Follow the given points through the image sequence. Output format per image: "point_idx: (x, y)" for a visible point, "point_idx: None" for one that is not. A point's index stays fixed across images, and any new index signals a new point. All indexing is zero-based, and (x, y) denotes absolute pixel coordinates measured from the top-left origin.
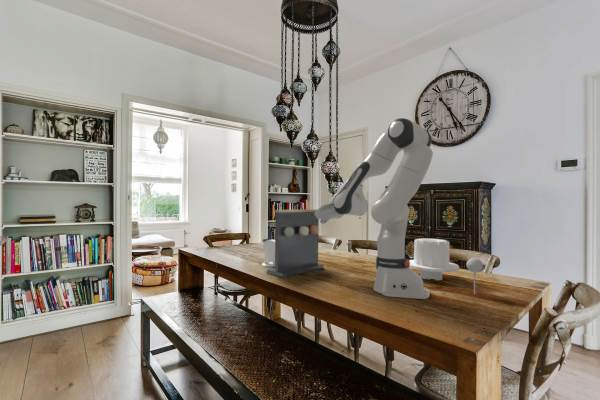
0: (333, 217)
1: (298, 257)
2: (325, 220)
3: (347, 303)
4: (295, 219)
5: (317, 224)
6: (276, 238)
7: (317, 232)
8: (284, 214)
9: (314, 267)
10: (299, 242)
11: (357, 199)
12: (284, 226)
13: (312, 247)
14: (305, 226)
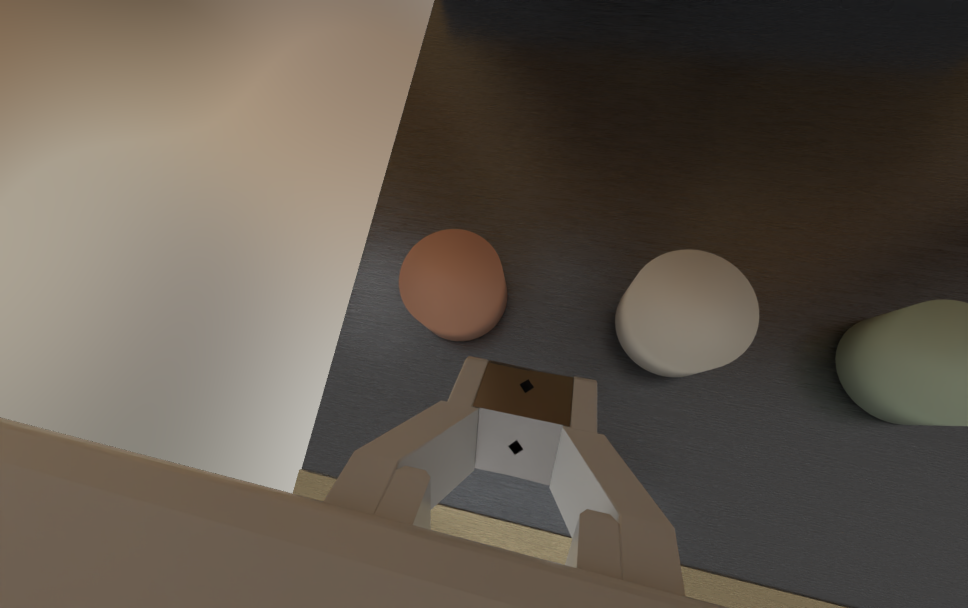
0: (240, 566)
1: (701, 81)
2: (476, 433)
3: None
4: (726, 476)
5: (359, 327)
6: None
7: (430, 242)
8: (942, 598)
9: None
10: (676, 209)
11: None
12: (934, 438)
13: (485, 126)
14: (677, 369)
